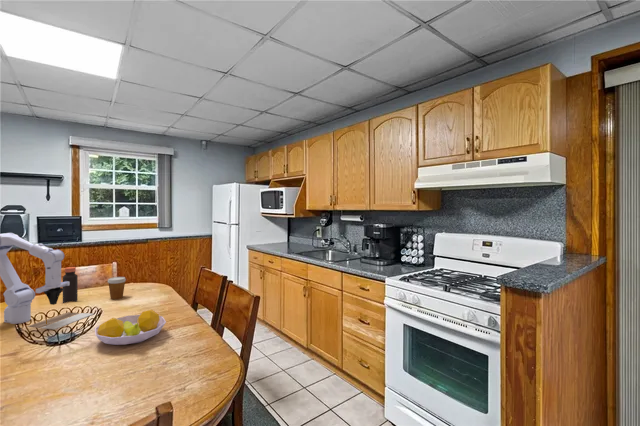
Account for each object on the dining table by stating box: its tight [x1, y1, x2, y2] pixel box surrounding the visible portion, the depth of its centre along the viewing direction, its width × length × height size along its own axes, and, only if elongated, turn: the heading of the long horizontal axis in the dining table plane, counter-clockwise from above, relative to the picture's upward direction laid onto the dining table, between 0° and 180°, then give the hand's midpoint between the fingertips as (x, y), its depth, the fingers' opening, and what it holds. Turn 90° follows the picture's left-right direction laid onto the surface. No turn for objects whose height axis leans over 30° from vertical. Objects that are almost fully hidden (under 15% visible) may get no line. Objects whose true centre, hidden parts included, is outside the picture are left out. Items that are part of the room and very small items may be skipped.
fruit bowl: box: [94, 309, 167, 346], centre depth 135 cm, size 28×27×11 cm
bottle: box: [62, 266, 79, 304], centre depth 182 cm, size 7×7×20 cm
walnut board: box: [26, 311, 80, 329], centre depth 152 cm, size 7×20×1 cm, turn 170°
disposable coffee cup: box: [107, 276, 127, 300], centre depth 192 cm, size 10×10×12 cm
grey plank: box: [41, 312, 95, 330], centre depth 151 cm, size 8×20×1 cm, turn 170°
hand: (53, 304), depth 150 cm, fingers closed
